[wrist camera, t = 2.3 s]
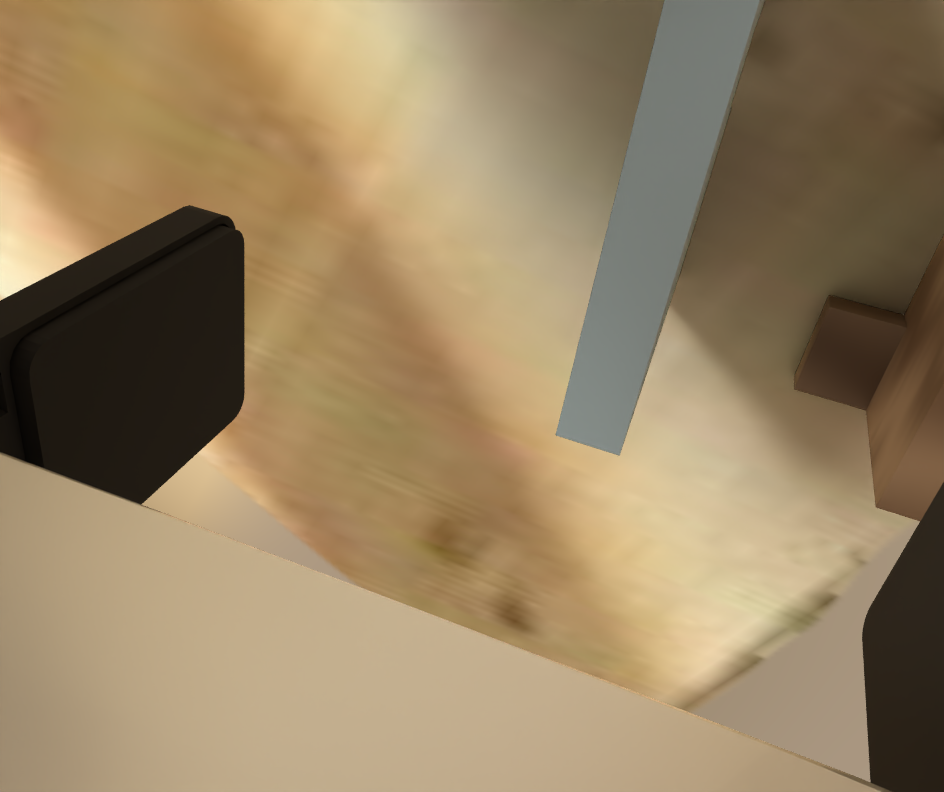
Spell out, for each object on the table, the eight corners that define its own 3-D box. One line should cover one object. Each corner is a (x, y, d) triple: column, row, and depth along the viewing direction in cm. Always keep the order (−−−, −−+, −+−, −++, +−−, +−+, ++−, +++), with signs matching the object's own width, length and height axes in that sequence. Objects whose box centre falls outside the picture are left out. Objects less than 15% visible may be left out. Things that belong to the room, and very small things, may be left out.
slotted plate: (774, -246, 27) (747, -331, 16) (838, -236, 27) (857, -317, 16) (633, 264, 37) (555, 435, 26) (678, 277, 37) (619, 455, 26)
